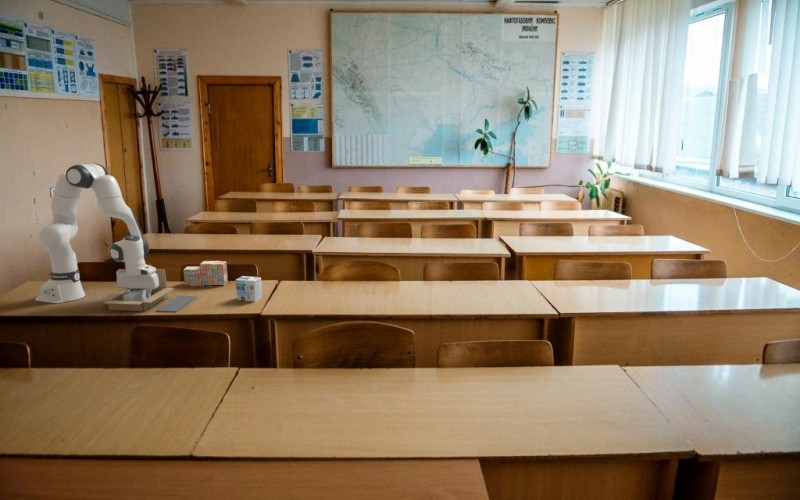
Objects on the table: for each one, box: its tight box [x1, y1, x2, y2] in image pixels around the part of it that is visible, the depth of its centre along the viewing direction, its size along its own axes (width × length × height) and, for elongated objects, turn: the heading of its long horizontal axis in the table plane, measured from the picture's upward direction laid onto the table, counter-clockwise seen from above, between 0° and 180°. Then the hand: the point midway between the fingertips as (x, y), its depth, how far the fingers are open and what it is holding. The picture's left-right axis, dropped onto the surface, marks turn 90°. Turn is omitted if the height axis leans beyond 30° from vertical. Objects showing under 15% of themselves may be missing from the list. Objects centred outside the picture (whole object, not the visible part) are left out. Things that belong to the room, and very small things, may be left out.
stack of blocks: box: [183, 260, 229, 287], centre depth 316 cm, size 21×6×12 cm, turn 89°
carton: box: [99, 268, 175, 312], centre depth 286 cm, size 26×25×14 cm
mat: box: [155, 295, 199, 313], centre depth 286 cm, size 10×22×1 cm, turn 172°
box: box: [124, 289, 152, 301], centre depth 288 cm, size 5×15×8 cm, turn 172°
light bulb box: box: [235, 275, 263, 303], centre depth 291 cm, size 11×7×11 cm, turn 73°
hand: (139, 296), depth 289 cm, fingers open, 8 cm apart
